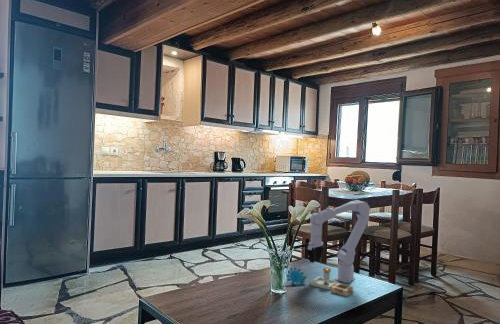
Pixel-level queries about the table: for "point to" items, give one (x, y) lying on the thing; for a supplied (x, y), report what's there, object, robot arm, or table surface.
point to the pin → (326, 276)
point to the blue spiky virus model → (296, 276)
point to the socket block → (342, 289)
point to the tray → (319, 283)
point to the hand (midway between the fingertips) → (315, 260)
